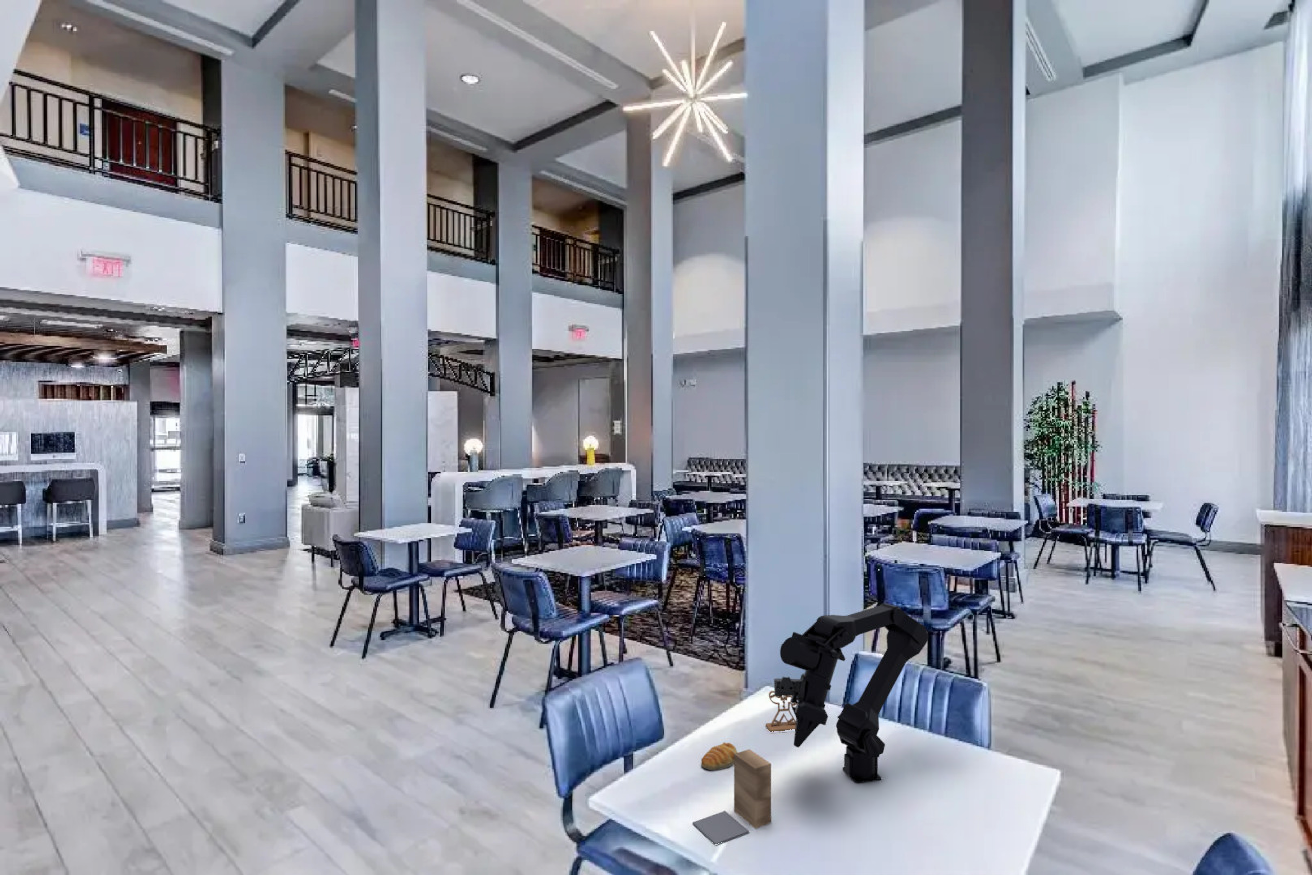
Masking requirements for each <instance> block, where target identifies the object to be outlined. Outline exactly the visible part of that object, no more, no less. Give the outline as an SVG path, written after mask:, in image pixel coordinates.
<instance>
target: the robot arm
mask: <svg viewBox="0 0 1312 875" xmlns="http://www.w3.org/2000/svg"><path fill="white" fill-rule="evenodd" d="M882 628H885V629H886V630H887V633H886V650H885V652H884V654H883V656H882V658H881V659H880V661H879V663H878V665H877V667H876V669H875V670H874V671H873V674H872V676H871V678H870V679H869V681H868V683H867V684H866V687H865V688H864V690H863V692H862V693H861V695H860V697H859V699H858V701H857V702H855V703H853V704H852V703H849V702H846V703H845V705H844V706H843V708H842V710H841V712H840V713H839V714H838V716H837V719H838V720H837V722H836V724H835V725H836V726H835V727H836V733H837V736H838V737H839V740H840V743H841V744H842V745H845V746H846V747H845V753H844V755H843V759H844V760H843V767H842V771H843V772H844V773H845V774H846V775H847V776H848V777H849V778H850V779H851V781H853V782H854V783H855V784H861V783H863V784H864V783H869V782H876V781H877V782H879V781H882V776H880V774H878V772H879V767H878V764H879V762H878V761H879V760H878V759H879V758H880V755H882V754H884V751H885V747H886V743H885V742H884V740H882V739H881V738H880V737H879V736H878V733H879V730H880V720H879V714H880V712H881V710H882V708H883V707H884V705H885V703H886V702H887V699H888V697H889V695H890V694H891V692H892V690H893V687H894V686H895V684H896V682H897V681H898V678H899V677H900V675H901V673H902V671H903V669H904V667H905V665H906V664H907V662H908V661H909V660H911V659H912V658H914V657H916V656H917V655H919V654H920V653H921V651H922V650H923V649H924V647H925V646H926V644H927V642H928V641H929V633H928V630H927V627H926V626H925V625H924V624H922V623H920V622H918V620H916V619H914V618H913V617H912V616H910V615H908V614H907V613H906V612H905V611H904V610H903V609H902V608H901V607H899V606H896V605H893V604H891V603H881V604H879V605H878V606H875V607H871V608H868V609H865V610H861V611H857V612H854V613H850V614H848V615H847V614H846V615H841V614H840V615H839V614H837V615H836V614H825V615H823V614H822V615H820V616H818V617H817V618H816V621H815V622H814V623H813V624H812V625H811V626H810V627H809V628H808V629H806V631H804V632H803V633H802V634H800V633H799V632H795V631H793V632H792V635H791V636H790V637H788V638H786V639H785V640H784V641H783V643H782V644H781V645H780V649H779V655H780V656H779V657H780V659H781V661H782V662H783V663H784V664H786V665H789V666H791V667H795V668H798V669H801V670H804V672H803V673H801V675H800V678H791V677H790V676H787V677H786V676H781V678H774V679H773V687H774V688H773V689H774V690H773V691H774V693H773V694H775V697H776V696H782V697H783V695H788V696H792V697H790V701H789V702H791V703H793V704H794V703H797V705H795V706H793V707H791V709H792V711H793V714H794V716H795V721H796V726H795V732H794V737H793V746H794V747H796V748H801V746H802V745H803V743H804V742H805V741H806V740H807V738H808V737H809V736H810V735H811V734H812V733H813V732H814V731H815V730H816V729H817V728H818V727H819V726H820V725H822V726H826V725H827V721H828V718H829V714H828V713H827V711H826V709H825V707H826V703H825V702H826V699H827V696H828V692H829V691H831V688H832V685H831V683H832V679H833V676H834V673H835V669H836V666H837V663H838V660H839V661H843V662H845V661H846V657H845V656H844V654H843V652H842V649H844V648H845V647H847V646H848V645H850V644H852V643H853V642H854V641H855V640H856V638H857V636H861V635H863V634H865V633H869V632H872V631H876V630H878V629H882ZM795 707H796V708H795Z"/></svg>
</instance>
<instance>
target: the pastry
mask: <svg viewBox="0 0 1312 875" xmlns="http://www.w3.org/2000/svg"><path fill="white" fill-rule="evenodd" d="M735 753H739V752H738V751H737V748H736V747H735V745H734V744H732V743H730V742H723V743H721V744H718V745H715V746H712V747H711V748H710V749H709V750H708V751H707V752H706V753H705V754H704V755H703V757H701V767H702V768H704V769H707V770H709V771H716V770H721V769H722V770H724V769H726V768H729V767H732V766H734V754H735Z"/></svg>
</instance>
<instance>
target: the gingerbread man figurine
mask: <svg viewBox="0 0 1312 875" xmlns="http://www.w3.org/2000/svg"><path fill="white" fill-rule="evenodd" d="M771 694H772V695H771ZM768 697H769V700H770V702H771V703H772V704H774V705H777V712H776V713H775V715H774V717H773V719H772V721H771V722H766V724H765V728H766V727H767V728H766V730H767V729H768V730H769V731H770V732H772V731H773V732H774V731H785V730H790V729H791V730H792V729H795V726H796V718H794V716H793V714H792V712H791V710H790V709H791V708H792V707H795V708H796V705H797V703H791V701H788V698H791V697H792V696H788V695H783V696H775V694H774V690H771V691H769V692H768ZM772 698H776V699H779V700H780V701H781V702H782V704H783V705H782V706H780V705H781V704H780V702H776V701H773V700H772ZM786 702H787V708H786V706H785V704H786ZM790 705H791V706H790ZM781 707H782V708H781ZM780 712H788V713H789V714H790V716H791V718H790V719H789V720H788V718H787V717H786V715H785V713H783V714H782V715H781V717H780V719H779V720H778V719H777V717H778V716H779V714H780ZM784 718H785V720H786V721H783V719H784ZM782 721H783V722H782ZM768 730H767V731H768ZM769 731H768V732H769Z"/></svg>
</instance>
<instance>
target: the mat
mask: <svg viewBox="0 0 1312 875" xmlns="http://www.w3.org/2000/svg"><path fill="white" fill-rule="evenodd" d="M692 826H694V827H695V828H696V830H698V831H699V832H700V833H701V834H702V835H703V836H704V837H706V838H707V840H709V841H710V842H711V843H712V842H713V843H714V844H718V843H721V842H724V843H727V842H730V841H732V840H735V839H737V838H739V837H742V836H745V835H747V834H749V833H750V830H749V829H748V828H746V827H745V826H744V825H742V823H740V822H739V821H738V820H737V819H735V818H734V817H733V816H732V815H731V814H730V813H728V812H727V811H726V810H723V811H721V812H717V813H715V814H712V815H710V816H707V817H704V818H701V819H697V820H695V821H692ZM726 841H727V842H726ZM713 843H712V844H713ZM714 844H713V845H714ZM721 844H722V843H721Z"/></svg>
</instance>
